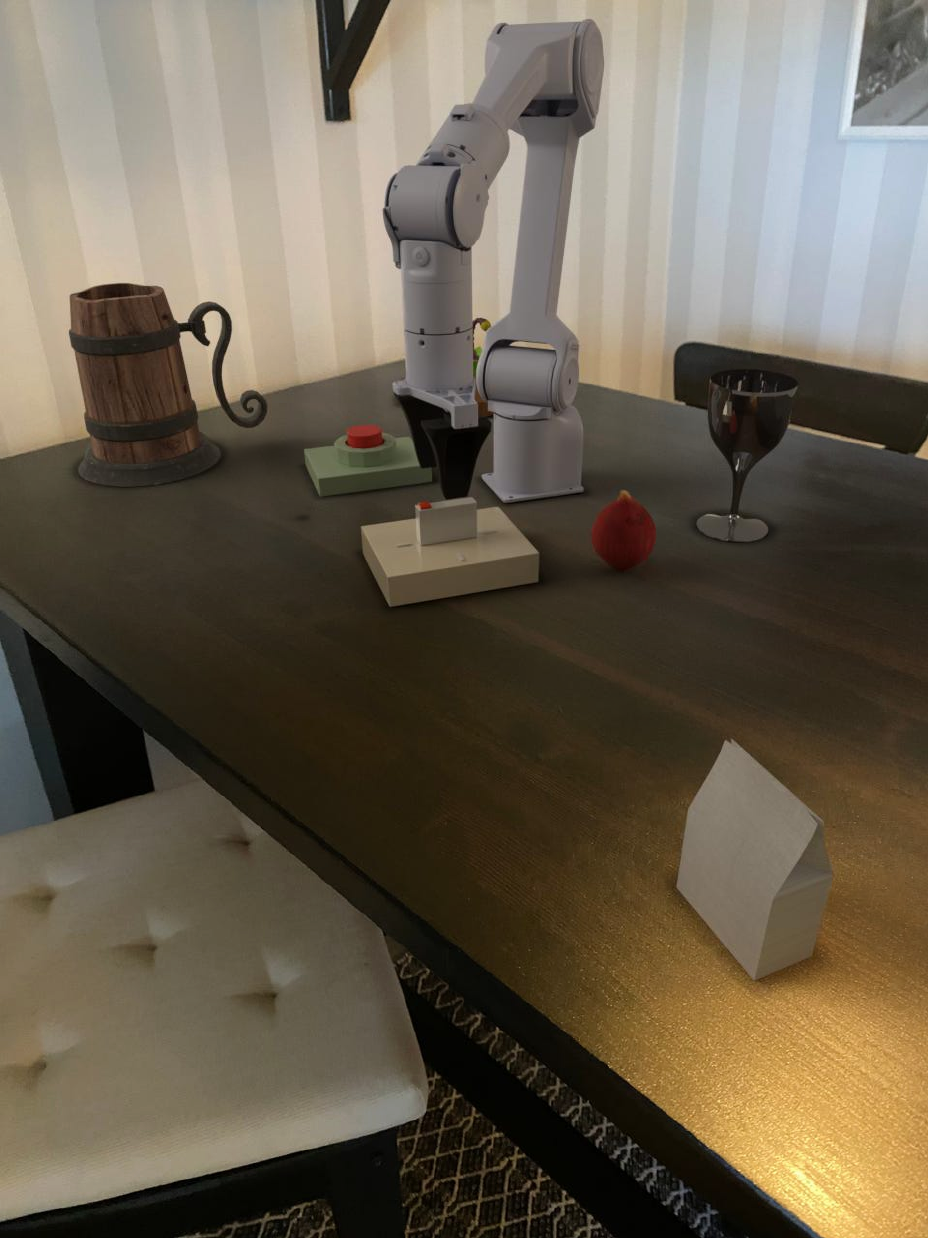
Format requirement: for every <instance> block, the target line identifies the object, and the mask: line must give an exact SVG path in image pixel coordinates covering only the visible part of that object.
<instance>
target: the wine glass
mask: <svg viewBox="0 0 928 1238" xmlns="http://www.w3.org/2000/svg"><path fill="white" fill-rule="evenodd" d="M708 384H709V385H708V393H707V404H706V405H707V422H708V430H709V434H710V438H711V440H712V442H713V444H714V445H715V446H716V448H717V449H718V451H719V452H720V453H721V454H722V456H723V457H724V459H725V460H726V461H727V464H728V465H729V468H730V470H731V474H732V475H731V476H732V494H731V495H732V496H731V503H730V504H731V505H730V510H729V511H719V512H718V511H717V512H710V513H707V514H704V515H702V516H700V517H699V518H698V519H697V520H696V522H695V525H696V526H695V527H696V528H697V530H698V531H700V533H702V534H704V535H705V536H707V537H710V538H711V539H716V540H719V541H723V542H732V543H749V542H754V541H758V540H761V539H764V538H765V537H766V536H767V535H768V533H769V527H768V525H767V524H766V523H765V522H764V521H763V520H761V519H759V518H756V517H754V516H752V515H748V514H746V513H740V512H739V509H740V503H741V497H742V493H743V489H744V487H745V483H746V480H747V477H748V475H749V473H750V472H751V471H752V469H753V468H754V466H756V465H757V463H759V462H760V461H761V460H762V459H764V458H765V457H766V456H767V455H769V454H770V453H771V452H772V451H773V450H775V449H776V447H777V446H779V444H780V443H781V442H782V440H783V438H784V437H785V434H786V432H787V429H788V427H789V425H790V422H791V419H792V416H793V414H794V409H795V404H796V399H797V394H798V390H799V389H798V387H799V381H798V380H797V379H796V378H794V377H792V376H790V375H787V374H785V373H781V372H776V371H773V370H764V369H754V368H753V369H752V368H751V369H750V368H738V369H727V370H721V371H718V372H715V373H714V374H712V375H711V376H710V378H709V383H708Z"/></svg>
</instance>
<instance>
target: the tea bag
mask: <svg viewBox="0 0 928 1238" xmlns="http://www.w3.org/2000/svg"><path fill="white" fill-rule="evenodd" d="M723 742H724V743H723V744H722V747H721V750H720V753H719V754H718V757H717V758H716V760H715V762H714V764H713V766H712V767H711V769H710V772H709V773H708V774H707V776H706V778H705V780H704V781H703V783H702V785H701V786H700V788H699V789H698V791H697V793H696V795H695V796H694V798H693V800H692V802H691V803H690V805H689V807H688V808H687V814H686V822H685V827H684V834H683V841H682V846H681V854H680V861H679V866H678V873H677V874H678V875H677V880H676V889H677V890H678V892H680V894H681V895H682V897H684V899H685V900H686V901H687V902H688V903H689V905H690V906H691V907H692V908H693V909H694V911H695V912H696V913H697V914H698V915H699V917H700V918H701V919H702V920H703V922H704V923H705V924H706V926H708V928H709V929H710V930H711V931H712V933H714V935H715V936H716V937H717V938H718V939H719V940H720V942H721V943H722V944H723V945H724V947H725V948H726V949H727V951H728V952H730V954H731V955H732V957H734V959H735V960H736V961H737V963H738V964H740V966H741V967H742V968H743V969H744V971H745V972H746V973H747V975H749V977H750V978H751V980H752V981H753V982H755V981H758V980H760V979H762V978H765V977H767V976H769V975H771V974H773V973H776V972H778V971H781V970H783V969H785V968H787V967H791V966H792V965H795V964H797V963H799V962H802V961H804V960H807V959H809V958H811V957H813V953H814V949H815V946H816V941H817V938H818V935H819V931H820V927H821V924H822V921H823V918H824V917H823V916H824V913H825V909H826V906H827V902H828V898H829V895H830V890H831V887H832V884H833V880H834V876H835V874H834V871H833V868H832V867H833V866H832V864H831V860H830V857H829V854H828V850H827V847H826V840H825V834H824V831H825V829H824V828H825V821H824V820H823V819H822V818H820V817H819V816H818V815H817V814H816V813H815V812H814V811H813V810H812V809H810V808H809V807H808V806H807V805H806V804H805V803H804V802H802V800H801V799H799V798H798V797H797V796H796V795H795V794H793V793H792V792H791V790H789V789H788V788H787V787H786V786H785V785H784V784H782V782H780V781H779V780H778V779H777V778H776V777H775V776H774V775H773V774H772V773H770V772H769V771H768V770H767V769H766V768H765V767H764V766H763V765H762V764H760V763H759V762H758V761H757V760H756V759H755V758H754V757H753V756H751V754H750V753H748V752H747V751H746V750H745V749H744V748H743V747H742V746H741V745H739V744H738V743H737V742H736V741H735V740H734V739H733V738H730V742H729V740H727V739H725V740H724V741H723Z"/></svg>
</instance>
